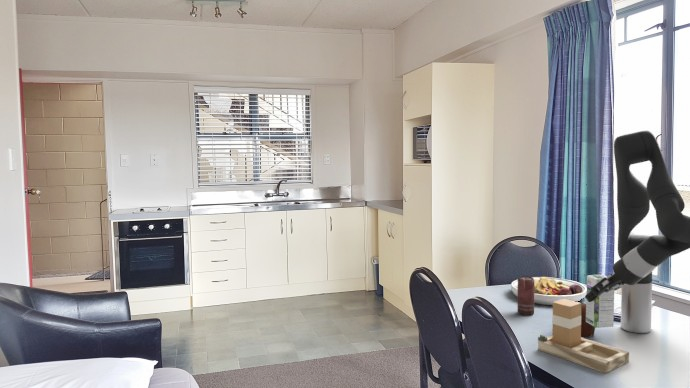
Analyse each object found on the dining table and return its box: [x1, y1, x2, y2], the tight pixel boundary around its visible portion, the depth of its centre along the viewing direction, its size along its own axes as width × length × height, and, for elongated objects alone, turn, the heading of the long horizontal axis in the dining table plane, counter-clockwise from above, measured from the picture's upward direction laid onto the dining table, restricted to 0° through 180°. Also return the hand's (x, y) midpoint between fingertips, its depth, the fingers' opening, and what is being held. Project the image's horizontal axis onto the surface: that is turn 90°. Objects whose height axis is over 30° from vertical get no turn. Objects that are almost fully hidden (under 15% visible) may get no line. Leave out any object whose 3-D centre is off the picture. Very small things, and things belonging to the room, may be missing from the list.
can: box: [517, 276, 535, 317], centre depth 201 cm, size 6×6×14 cm
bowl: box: [510, 276, 587, 306], centre depth 223 cm, size 30×30×8 cm
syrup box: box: [585, 274, 615, 329], centre depth 155 cm, size 6×6×14 cm
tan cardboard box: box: [551, 299, 582, 348], centre depth 165 cm, size 6×6×15 cm
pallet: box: [537, 334, 630, 374], centre depth 161 cm, size 13×22×5 cm, turn 34°
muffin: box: [580, 302, 596, 338], centre depth 180 cm, size 12×11×10 cm
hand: (595, 296), depth 156 cm, fingers closed on syrup box, 7 cm apart
